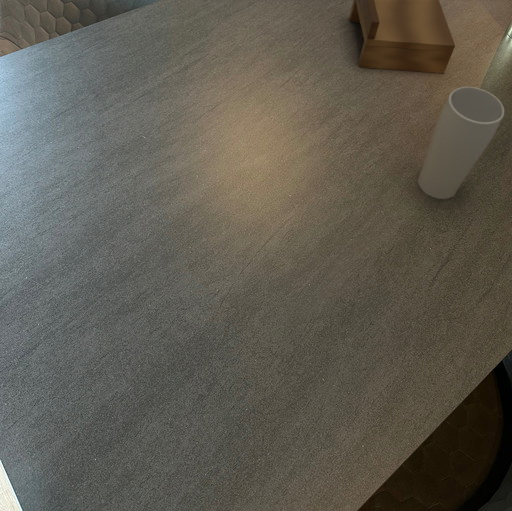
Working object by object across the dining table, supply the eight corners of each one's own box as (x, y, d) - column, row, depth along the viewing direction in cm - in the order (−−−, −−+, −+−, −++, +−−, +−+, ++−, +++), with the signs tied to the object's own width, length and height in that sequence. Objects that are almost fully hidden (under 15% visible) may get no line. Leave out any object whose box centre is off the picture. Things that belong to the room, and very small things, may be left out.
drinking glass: (437, 218, 82) (483, 132, 70) (399, 186, 85) (436, 99, 73) (468, 195, 85) (517, 109, 73) (430, 166, 88) (471, 78, 76)
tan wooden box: (427, 24, 109) (443, -21, 102) (443, 73, 101) (462, 28, 94) (348, 17, 108) (360, -28, 101) (358, 67, 100) (372, 21, 93)
